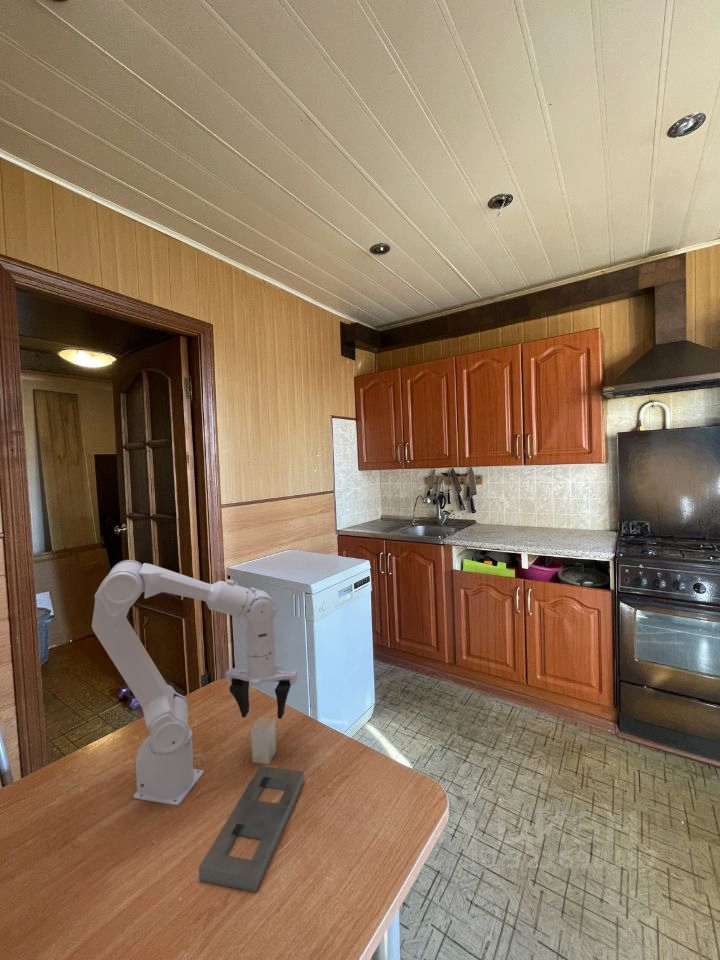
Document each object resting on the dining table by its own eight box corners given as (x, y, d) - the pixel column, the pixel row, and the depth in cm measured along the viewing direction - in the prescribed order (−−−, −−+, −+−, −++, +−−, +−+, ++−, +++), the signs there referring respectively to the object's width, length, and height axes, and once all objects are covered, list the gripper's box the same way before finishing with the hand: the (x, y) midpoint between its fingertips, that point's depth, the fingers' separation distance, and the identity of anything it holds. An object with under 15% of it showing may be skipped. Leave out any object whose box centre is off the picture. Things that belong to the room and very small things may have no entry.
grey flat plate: (199, 880, 58) (198, 867, 58) (260, 775, 77) (260, 765, 77) (256, 892, 56) (255, 878, 56) (304, 781, 75) (303, 771, 75)
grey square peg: (252, 761, 81) (251, 728, 81) (260, 749, 85) (259, 717, 84) (268, 764, 80) (267, 730, 80) (276, 751, 84) (274, 719, 84)
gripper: (218, 659, 79) (221, 726, 79) (289, 660, 77) (291, 729, 78) (233, 643, 86) (235, 705, 86) (298, 644, 84) (301, 707, 85)
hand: (263, 715), depth 82 cm, fingers open, 7 cm apart
